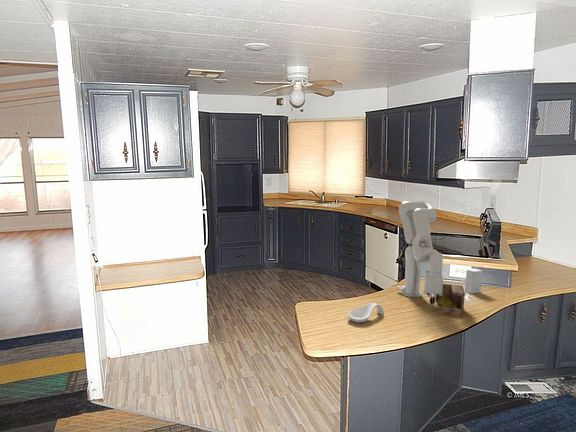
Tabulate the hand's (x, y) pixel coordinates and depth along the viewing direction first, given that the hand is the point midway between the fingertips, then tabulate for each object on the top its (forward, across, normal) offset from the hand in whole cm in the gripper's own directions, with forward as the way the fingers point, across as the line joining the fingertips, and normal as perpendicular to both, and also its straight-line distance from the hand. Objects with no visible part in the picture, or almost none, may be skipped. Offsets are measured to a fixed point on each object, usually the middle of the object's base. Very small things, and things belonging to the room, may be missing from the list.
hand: (432, 304), depth 244 cm
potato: (+3, +8, 0) cm, 8 cm away
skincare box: (+3, +26, +41) cm, 49 cm away
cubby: (+3, +10, 0) cm, 10 cm away
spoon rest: (+3, -34, -28) cm, 45 cm away
